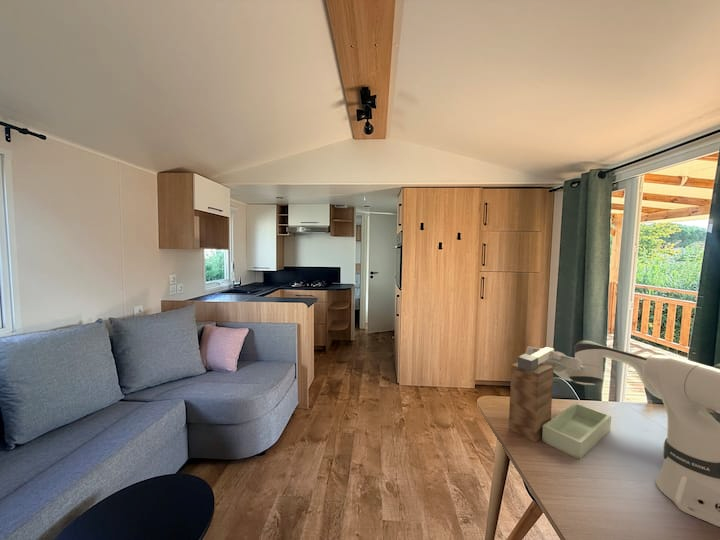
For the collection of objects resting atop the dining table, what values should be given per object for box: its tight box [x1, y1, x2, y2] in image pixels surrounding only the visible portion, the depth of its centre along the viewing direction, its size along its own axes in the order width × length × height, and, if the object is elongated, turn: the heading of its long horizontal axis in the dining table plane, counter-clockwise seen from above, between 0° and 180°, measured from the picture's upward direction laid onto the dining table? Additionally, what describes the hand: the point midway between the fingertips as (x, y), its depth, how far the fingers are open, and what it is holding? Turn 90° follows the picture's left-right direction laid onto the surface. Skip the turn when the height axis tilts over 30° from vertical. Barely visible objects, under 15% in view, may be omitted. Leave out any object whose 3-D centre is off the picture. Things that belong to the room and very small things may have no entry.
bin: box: [541, 402, 612, 461], centre depth 113 cm, size 12×30×6 cm, turn 125°
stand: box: [508, 362, 554, 443], centre depth 115 cm, size 10×12×26 cm
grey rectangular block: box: [517, 346, 555, 371], centre depth 117 cm, size 5×21×4 cm, turn 124°
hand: (545, 352), depth 121 cm, fingers closed on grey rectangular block, 3 cm apart
